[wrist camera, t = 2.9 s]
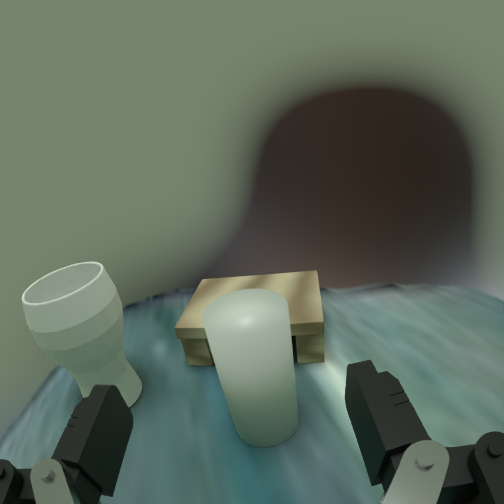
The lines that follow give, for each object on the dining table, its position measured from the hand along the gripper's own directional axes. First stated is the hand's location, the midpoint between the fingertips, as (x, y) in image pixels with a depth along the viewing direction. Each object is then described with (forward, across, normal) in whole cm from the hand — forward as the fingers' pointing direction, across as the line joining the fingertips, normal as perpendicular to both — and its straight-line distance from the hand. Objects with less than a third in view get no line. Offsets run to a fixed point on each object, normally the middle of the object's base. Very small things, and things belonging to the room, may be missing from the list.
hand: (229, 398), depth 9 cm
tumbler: (+11, 0, +16) cm, 20 cm away
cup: (+17, +18, +17) cm, 29 cm away
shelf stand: (+25, 0, +16) cm, 30 cm away
